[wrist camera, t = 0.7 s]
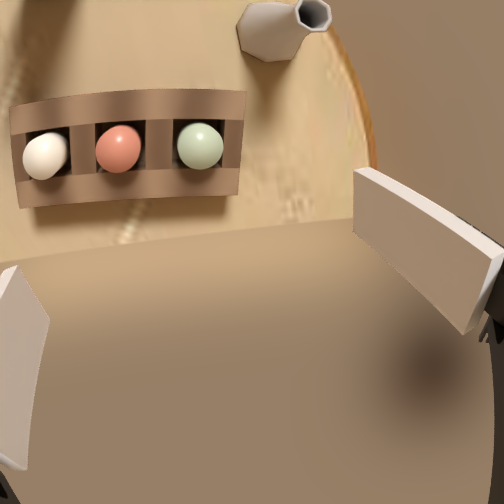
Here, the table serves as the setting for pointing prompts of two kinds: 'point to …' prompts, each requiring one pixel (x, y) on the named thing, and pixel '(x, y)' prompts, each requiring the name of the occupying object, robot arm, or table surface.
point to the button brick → (119, 148)
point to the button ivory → (46, 155)
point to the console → (151, 154)
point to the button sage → (199, 145)
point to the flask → (280, 27)
